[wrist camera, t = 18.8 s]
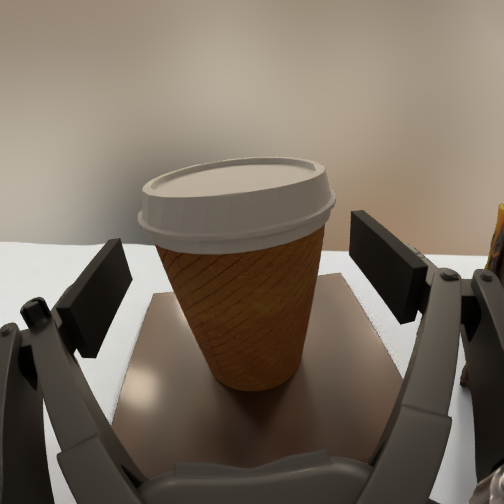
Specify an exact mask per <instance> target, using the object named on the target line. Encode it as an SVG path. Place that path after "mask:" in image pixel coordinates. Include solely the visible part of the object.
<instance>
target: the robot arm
mask: <svg viewBox="0 0 504 504" xmlns="http://www.w3.org/2000/svg"><path fill="white" fill-rule="evenodd" d="M349 255H350V257H351V258H352V259H353V261H354V262H355V263H356V264H357V266H358V267H359V268H360V270H361V271H362V272H363V274H364V275H365V276H366V278H367V279H368V280H369V282H370V283H371V284H372V286H373V287H374V288H375V290H376V291H377V292H378V294H379V295H380V296H381V298H382V299H383V301H384V302H385V303H386V305H387V306H388V307H389V309H390V310H391V312H392V313H393V315H394V316H395V317H396V319H397V320H398V322H399V323H400V325H401V324H405V323H409V322H413V321H415V318H416V315H417V311H418V310H419V311H420V313H421V314H422V318H421V322H420V325H419V328H418V331H417V334H416V335H417V337H416V341H415V345H414V348H413V352H412V355H411V358H410V362H409V365H408V368H407V371H406V374H405V377H404V380H403V383H402V386H401V389H400V391H399V394H398V397H397V399H396V402H395V405H394V407H393V410H392V412H391V415H390V417H389V420H388V422H387V424H386V427H385V429H384V431H383V433H382V436H381V438H380V440H379V442H378V444H377V446H376V448H375V450H374V452H373V454H372V456H371V457H370V459H369V461H368V463H367V464H366V463H363V462H361V461H358V460H355V459H350V458H345V457H336V456H330V454H329V450H328V448H326V449H322V450H317V451H312V452H306V453H301V454H295V455H290V456H287V457H284V458H282V459H279V460H276V461H273V462H270V463H267V464H265V465H262V466H258V467H255V468H241V467H235V466H229V465H223V464H217V463H212V462H174V470H173V471H169V472H165V473H162V474H159V475H157V476H155V477H153V478H151V479H149V480H148V479H147V478H146V477H145V476H144V475H143V473H142V472H141V471H140V470H139V469H138V467H137V466H136V464H135V463H134V462H133V460H132V459H131V457H130V456H129V454H128V453H127V451H126V450H125V448H124V447H123V445H122V444H121V442H120V440H119V439H118V437H117V436H116V434H115V432H114V431H113V429H112V427H111V426H110V424H109V422H108V421H107V419H106V417H105V415H104V414H103V412H102V410H101V408H100V406H99V404H98V403H97V401H96V399H95V397H94V395H93V393H92V391H91V389H90V387H89V385H88V383H87V381H86V379H85V377H84V374H83V372H82V370H81V368H80V366H79V363H78V361H77V359H76V358H75V356H74V352H75V350H76V348H77V350H78V351H79V353H80V355H81V357H82V358H96V357H97V354H98V352H99V350H100V347H101V345H102V343H103V341H104V338H105V336H106V334H107V332H108V329H109V327H110V325H111V323H112V321H113V319H114V316H115V314H116V312H117V310H118V308H119V306H120V304H121V302H122V300H123V298H124V296H125V294H126V292H127V290H128V288H129V286H130V284H131V282H132V280H133V279H132V276H131V273H130V270H129V267H128V263H127V260H126V257H125V253H124V250H123V246H122V243H121V239H120V238H118V239H111V240H108V242H107V243H106V244H105V245H104V246H103V247H102V249H101V250H100V251H99V252H98V253H97V255H96V256H95V257H94V258H93V259H92V261H91V262H90V263H89V264H88V266H87V267H86V268H85V269H84V271H83V272H82V273H81V274H80V276H79V277H78V278H77V280H76V281H75V282H74V283H73V284H72V285H71V286H69V287H68V288H67V289H66V290H65V292H64V293H63V294H62V295H63V296H61V297H60V299H59V301H57V303H56V304H55V305H54V307H53V308H52V310H51V311H50V310H49V308H48V306H47V304H46V302H45V300H44V298H42V297H37V298H34V299H31V300H30V301H28V302H26V303H25V304H24V305H23V306H22V308H21V310H20V313H21V315H22V317H23V319H24V321H25V322H26V324H27V326H28V328H29V329H26V330H22V331H20V330H19V328H18V326H17V325H16V323H8V324H5V325H4V326H2V327H1V329H0V504H55V503H54V498H53V493H52V488H51V482H50V476H49V470H48V463H47V455H46V446H45V435H44V419H43V399H44V402H45V405H46V409H47V412H48V415H49V418H50V421H51V424H52V427H53V430H54V433H55V435H56V438H57V441H58V443H59V446H60V448H61V452H60V453H58V454H57V460H58V464H59V466H60V468H61V471H62V473H63V475H64V477H65V480H66V482H67V484H68V486H69V488H70V490H71V492H72V494H73V496H74V498H75V500H76V502H77V504H440V503H438V502H436V501H434V500H431V499H429V496H430V493H431V491H432V488H433V485H434V483H435V480H436V477H437V474H438V471H439V468H440V465H441V462H442V459H443V456H444V452H445V449H446V445H447V442H448V438H449V434H450V430H451V425H452V417H449V416H448V410H449V406H450V401H451V396H452V390H453V385H454V379H455V372H456V365H457V357H458V348H459V337H460V333H461V337H462V342H463V347H464V352H465V357H466V362H467V368H468V374H469V381H470V388H471V396H472V405H473V416H474V431H475V466H476V477H477V484H478V485H477V486H476V488H475V490H474V493H473V496H472V497H471V499H470V500H469V504H504V288H503V287H502V285H501V283H500V281H499V279H498V277H497V276H496V275H495V274H494V273H492V272H491V271H490V270H489V271H488V270H487V269H477V270H475V271H474V274H473V277H472V279H461V276H460V275H459V274H458V273H457V272H455V271H454V270H451V269H448V268H437V267H436V266H435V265H434V264H433V263H432V262H431V261H430V260H429V259H427V258H425V256H424V255H423V254H421V253H420V252H419V251H418V250H417V249H416V248H414V247H412V246H410V245H408V244H404V243H402V242H401V241H400V240H399V239H398V238H396V237H395V236H394V235H393V234H392V233H391V232H389V231H388V230H387V229H386V228H384V227H383V226H382V225H381V224H380V223H378V222H377V221H376V220H375V219H374V218H372V217H371V216H370V215H368V214H367V213H366V212H365V211H363V210H362V211H361V210H360V211H351V228H350V247H349Z"/></svg>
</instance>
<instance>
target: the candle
mask: <svg viewBox="0 0 504 504" xmlns="http://www.w3.org/2000/svg"><path fill="white" fill-rule="evenodd" d="M484 269H487V270H488V271H489V270H490V271H491V272H492V273H494V274H495V275H496V276H497V277H498V279H499V281H500V283H501V285H502V287H503V288H504V204H500V205H499V210H498V218H497V224H496V228H495V232H494V235H493V238H492V242H491V249H490V253H489V257H488V261H487V264H486V266H485V268H484ZM460 380H461V381H460V385H461V386H462V387H463V388H465V387H470V381H469V374H468V368H467V362H466V364H465V366H464V368H463V370H462V375H461V377H460Z"/></svg>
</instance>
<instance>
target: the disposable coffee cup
mask: <svg viewBox="0 0 504 504" xmlns="http://www.w3.org/2000/svg"><path fill="white" fill-rule="evenodd" d="M335 202H336V194H335V192H334V191H333V190H332V189H331V188H330V187H329V183H328V179H327V175H326V170H325V167H324V166H323V165H322V164H320V163H317V162H314V161H311V160H307V159H299V158H291V157H290V158H289V157H251V158H238V159H229V160H222V161H215V162H209V163H204V164H199V165H194V166H190V167H186V168H183V169H180V170H176V171H173V172H169V173H167V174H164V175H161V176H159V177H157V178H155V179H153V180H151V181H149V182H148V183H147V184H145V185H144V187H143V190H142V210H141V211H140V213H139V214H138V222H139V225H140V227H141V228H142V229H143V230H144V231H145V232H146V233H147V236H148V237H149V239H150V240H151V241H152V242H153V243H154V244H155V246H156V249H157V251H158V254H159V256H160V259H161V261H162V264H163V267H164V269H165V271H166V274H167V276H168V279H169V281H170V283H171V285H172V288H173V290H174V293H175V295H176V298H177V300H178V302H179V304H180V307H181V309H182V311H183V313H184V316H185V318H186V320H187V321H188V322H187V323H188V325H189V327H190V329H192V330H191V331H192V333H193V335H194V337H195V340H196V341H197V343H198V344H199V345H198V346H199V348H200V350H201V351H202V354H203V356H204V357H205V360H206V362H207V363H208V366H209V368H210V370H211V372H212V374H213V375H214V377H215V378H216V379H218V380H219V381H220V382H221V383H223V384H224V385H226V386H227V387H231V388H234V389H237V390H242V391H261V390H266V389H270V388H273V387H276V386H278V385H280V384H282V383H283V382H285V381H287V380H288V379H289V378H290V377H291V376H292V375H294V373H295V372H296V370H297V369H298V367H299V365H300V363H301V359H302V353H303V349H304V344H305V340H306V334H307V329H308V325H309V319H310V314H311V309H312V303H313V299H314V292H315V286H316V281H317V275H318V270H319V263H320V258H321V250H322V244H323V237H324V227H325V223H326V222H327V220H328V219H329V216H330V212H331V209H332V208H333V207H334V205H335Z"/></svg>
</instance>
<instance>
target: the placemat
mask: <svg viewBox="0 0 504 504" xmlns="http://www.w3.org/2000/svg"><path fill="white" fill-rule="evenodd" d="M187 322H188V321H187V320H186V318H185V316H184V313H183V311H182V309H181V307H180V304H179V302H178V300H177V298H176V295H175V293H174V292H166V293H155V294H153V297H152V300H151V302H150V305H149V308H148V310H147V313H146V316H145V319H144V322H143V324H142V327H141V330H140V333H139V336H138V339H137V342H136V345H135V348H134V351H133V354H132V357H131V360H130V363H129V366H128V369H127V373H126V376H125V379H124V382H123V386H122V389H121V393H120V396H119V399H118V403H117V407H116V410H115V414H114V417H113V421H112V425H111V427H112V429H113V431H114V432H115V434H116V436H117V437H118V439H119V440H120V442H121V444H122V445H123V447H124V448H125V450H126V451H127V453H128V454H129V456H130V457H131V459H132V460H133V462H134V463H135V464H136V466H137V467H138V469H139V470H140V471H141V472H142V473H143V475H144V476H145V477H146V478H147V479H148V480H149V479H151V478H153V477H155V476H157V475H159V474H162V473H165V472H169V471H173V470H174V462H212V463H217V464H223V465H229V466H235V467H241V468H255V467H258V466H262V465H265V464H267V463H270V462H273V461H276V460H279V459H282V458H284V457H287V456H290V455H295V454H301V453H306V452H312V451H317V450H322V449H326V448H328V450H329V454H330V456H336V457H345V458H350V459H355V460H358V461H361V462H363V463H368V461H369V459H370V457H371V456H372V454H373V452H374V450H375V448H376V446H377V444H378V442H379V440H380V438H381V436H382V433H383V431H384V429H385V427H386V424H387V422H388V420H389V417H390V415H391V412H392V410H393V407H394V405H395V402H396V399H397V397H398V394H399V391H400V389H401V386H402V383H403V379H402V377H401V375H400V373H399V371H398V369H397V367H396V366H395V364H394V362H393V360H392V358H391V357H390V355H389V353H388V351H387V349H386V348H385V346H384V344H383V342H382V341H381V339H380V337H379V335H378V334H377V332H376V330H375V328H374V327H373V325H372V323H371V322H370V320H369V318H368V316H367V315H366V313H365V311H364V310H363V308H362V306H361V305H360V303H359V302H358V300H357V298H356V297H355V295H354V293H353V292H352V290H351V288H350V287H349V285H348V284H347V282H346V280H345V279H344V277H343V276H342V274H341V273H334V274H327V275H319V276H317V281H316V286H315V292H314V299H313V303H312V309H311V314H310V319H309V325H308V329H307V334H306V340H305V344H304V349H303V353H302V359H301V363H300V365H299V367H298V369H297V370H296V372H295V373H294V375H292V376H291V377H290V378H289V379H288V380H287V381H285V382H283V383H282V384H280V385H278V386H276V387H273V388H270V389H266V390H261V391H242V390H237V389H234V388H231V387H227V386H226V385H224V384H223V383H221V382H220V381H219V380H218V379H216V378H215V377H214V375H213V374H212V372H211V370H210V368H209V366H208V363H207V362H206V360H205V357H204V356H203V354H202V351H201V350H200V348H199V346H198V345H199V344H198V343H197V341H196V340H195V337H194V335H193V333H192V331H191V330H192V329H190V327H189V325H188V323H187Z"/></svg>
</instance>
